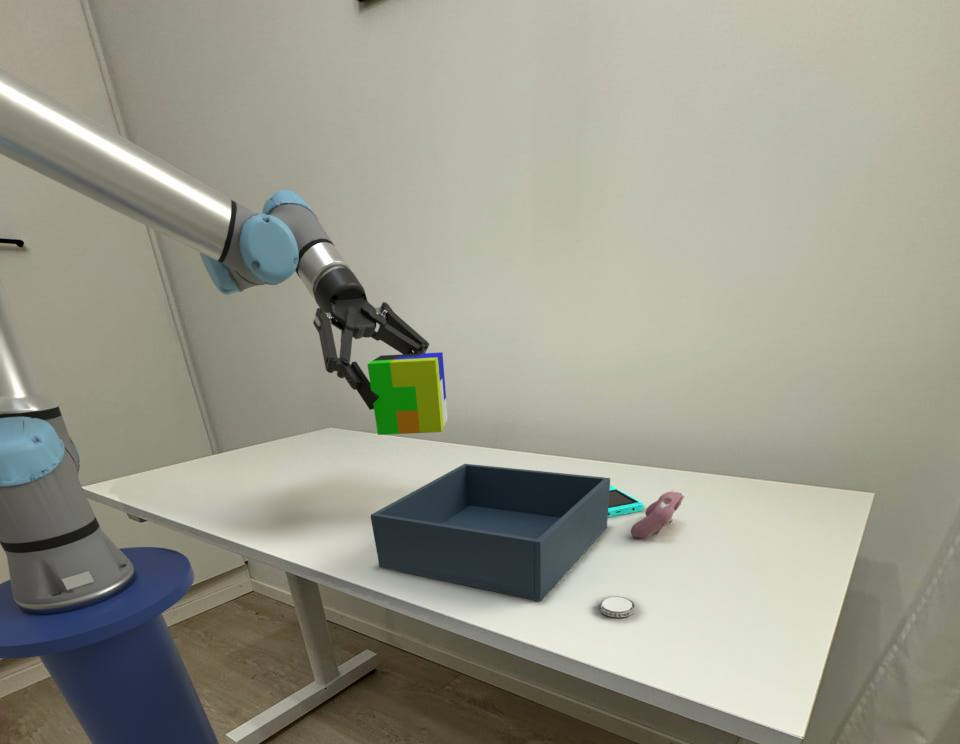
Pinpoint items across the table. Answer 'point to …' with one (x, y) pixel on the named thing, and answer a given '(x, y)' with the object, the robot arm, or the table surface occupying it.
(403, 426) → the puzzle toy
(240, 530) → the table surface
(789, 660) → the table surface
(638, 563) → the table surface
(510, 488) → the bin
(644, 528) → the video game controller
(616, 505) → the handheld game console
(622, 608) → the white grey disc
